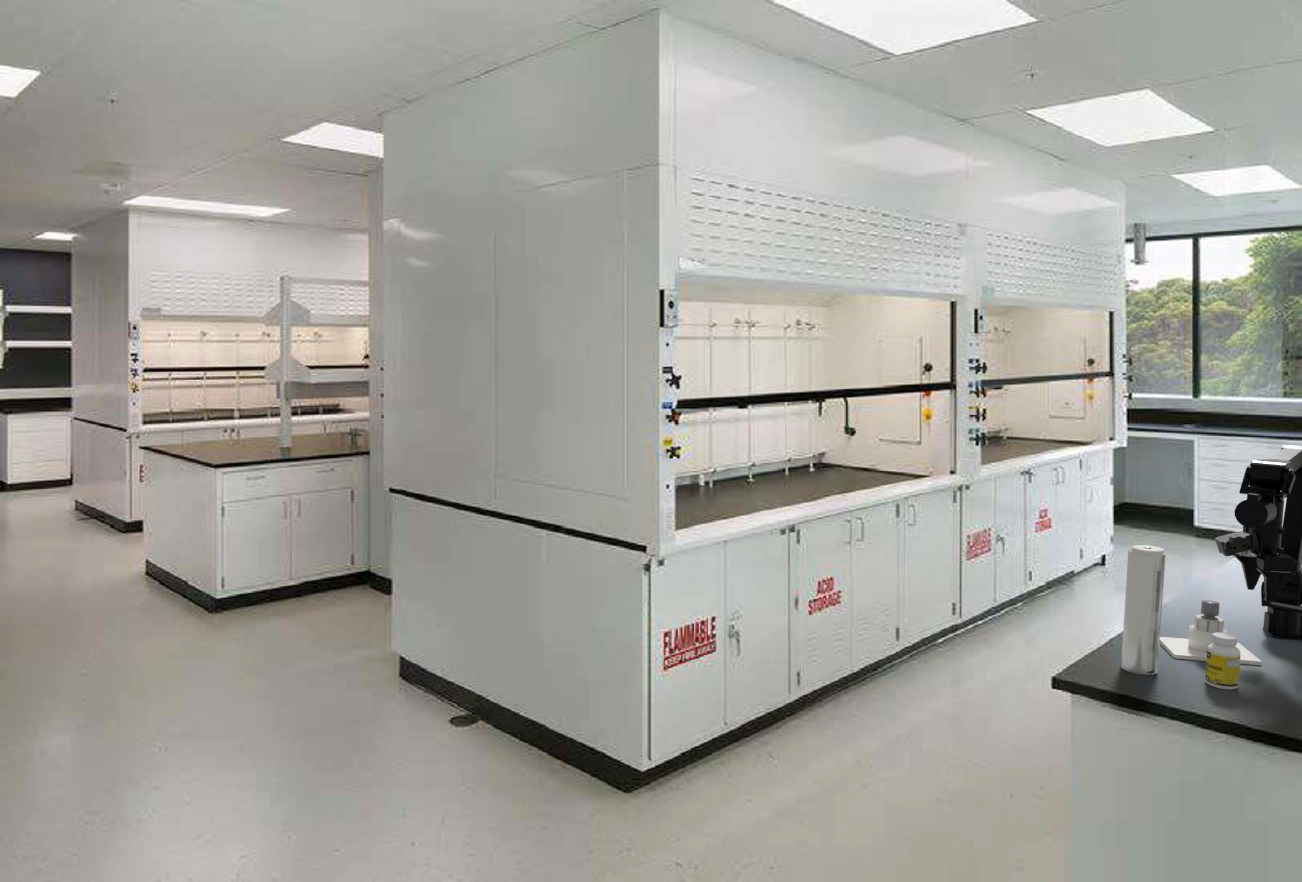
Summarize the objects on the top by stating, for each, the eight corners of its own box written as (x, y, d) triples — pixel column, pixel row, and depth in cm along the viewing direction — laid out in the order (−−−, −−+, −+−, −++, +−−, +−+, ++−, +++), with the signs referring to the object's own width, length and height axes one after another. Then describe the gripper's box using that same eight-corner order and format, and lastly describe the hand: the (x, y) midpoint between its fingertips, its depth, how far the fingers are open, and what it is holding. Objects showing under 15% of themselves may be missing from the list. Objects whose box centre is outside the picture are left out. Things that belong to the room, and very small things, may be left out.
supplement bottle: (1198, 680, 173) (1201, 631, 172) (1224, 679, 174) (1228, 630, 173) (1218, 690, 168) (1221, 640, 167) (1245, 690, 169) (1249, 639, 168)
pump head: (1214, 627, 190) (1216, 600, 189) (1219, 632, 187) (1221, 605, 186) (1197, 626, 191) (1199, 599, 190) (1202, 630, 188) (1204, 603, 187)
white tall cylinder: (1154, 666, 181) (1162, 545, 178) (1160, 677, 175) (1169, 552, 172) (1118, 662, 183) (1125, 542, 180) (1123, 673, 177) (1131, 549, 174)
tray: (1238, 646, 193) (1238, 642, 193) (1261, 665, 182) (1261, 661, 182) (1156, 640, 197) (1156, 636, 197) (1174, 658, 185) (1174, 654, 185)
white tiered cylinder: (1219, 644, 192) (1221, 614, 191) (1232, 655, 185) (1234, 624, 184) (1183, 641, 193) (1185, 611, 193) (1194, 652, 187) (1196, 621, 186)
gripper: (1205, 511, 195) (1200, 581, 197) (1239, 528, 177) (1233, 605, 179) (1263, 514, 192) (1257, 584, 194) (1303, 531, 174) (1297, 609, 176)
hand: (1259, 595), depth 186 cm, fingers open, 9 cm apart
